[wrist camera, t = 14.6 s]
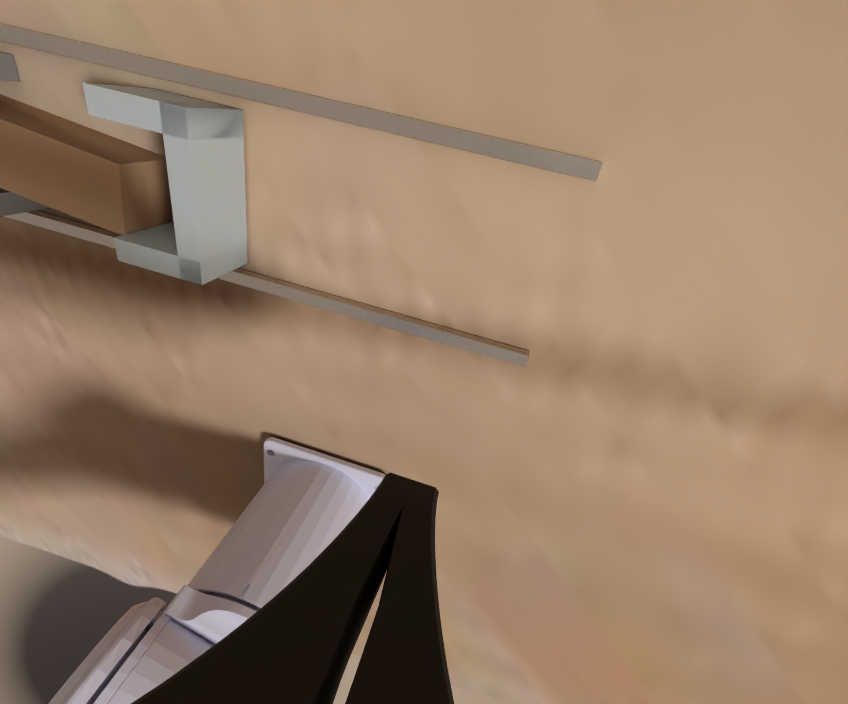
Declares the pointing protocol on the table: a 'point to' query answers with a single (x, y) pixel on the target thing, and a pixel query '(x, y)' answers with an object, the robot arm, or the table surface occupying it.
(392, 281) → the table surface
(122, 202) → the brown bar
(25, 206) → the grey c-shaped bracket
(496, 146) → the track
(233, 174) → the cap
